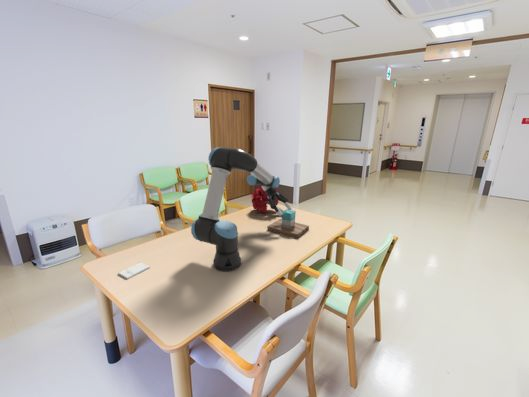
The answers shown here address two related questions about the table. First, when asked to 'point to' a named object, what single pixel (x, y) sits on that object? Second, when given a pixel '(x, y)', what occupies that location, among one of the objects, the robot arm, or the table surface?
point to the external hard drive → (134, 270)
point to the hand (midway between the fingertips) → (286, 212)
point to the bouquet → (261, 200)
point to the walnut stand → (288, 229)
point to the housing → (288, 218)
